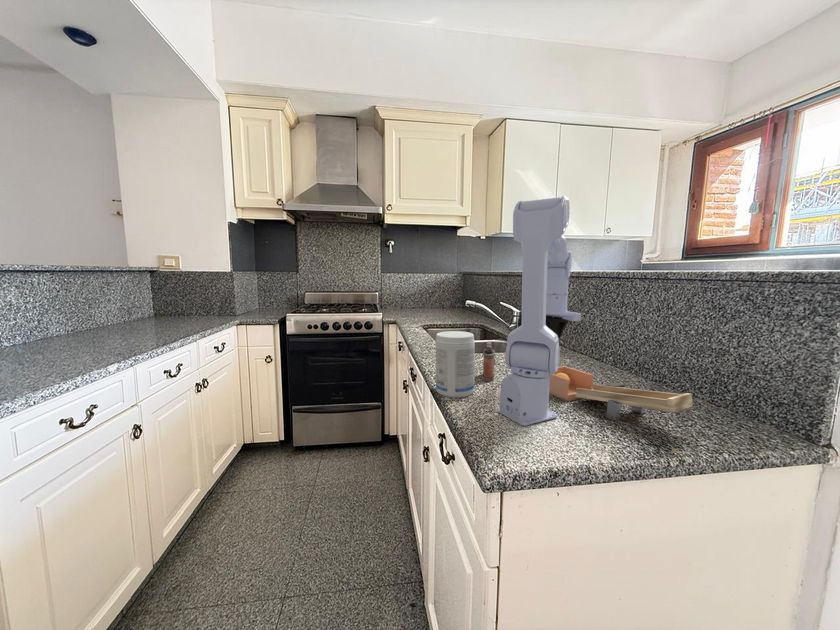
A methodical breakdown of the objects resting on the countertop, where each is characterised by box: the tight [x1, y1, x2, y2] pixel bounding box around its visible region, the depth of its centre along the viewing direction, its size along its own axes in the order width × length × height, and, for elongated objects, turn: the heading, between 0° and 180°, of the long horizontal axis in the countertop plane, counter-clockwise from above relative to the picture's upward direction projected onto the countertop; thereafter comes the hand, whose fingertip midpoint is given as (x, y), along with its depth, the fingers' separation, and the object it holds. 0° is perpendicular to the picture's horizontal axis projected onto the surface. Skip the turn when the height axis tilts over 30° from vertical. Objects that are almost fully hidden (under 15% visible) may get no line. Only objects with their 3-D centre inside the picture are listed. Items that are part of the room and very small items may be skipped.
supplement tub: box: [435, 330, 476, 399], centre depth 80 cm, size 10×10×15 cm
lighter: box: [482, 341, 496, 382], centre depth 92 cm, size 8×3×10 cm, turn 168°
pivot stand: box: [606, 400, 646, 422], centre depth 67 cm, size 10×2×4 cm, turn 116°
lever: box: [575, 382, 694, 413], centre depth 68 cm, size 13×20×2 cm, turn 26°
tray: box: [549, 365, 595, 402], centre depth 80 cm, size 9×9×5 cm
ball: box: [556, 373, 570, 384], centre depth 82 cm, size 4×4×4 cm
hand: (553, 344), depth 88 cm, fingers closed
